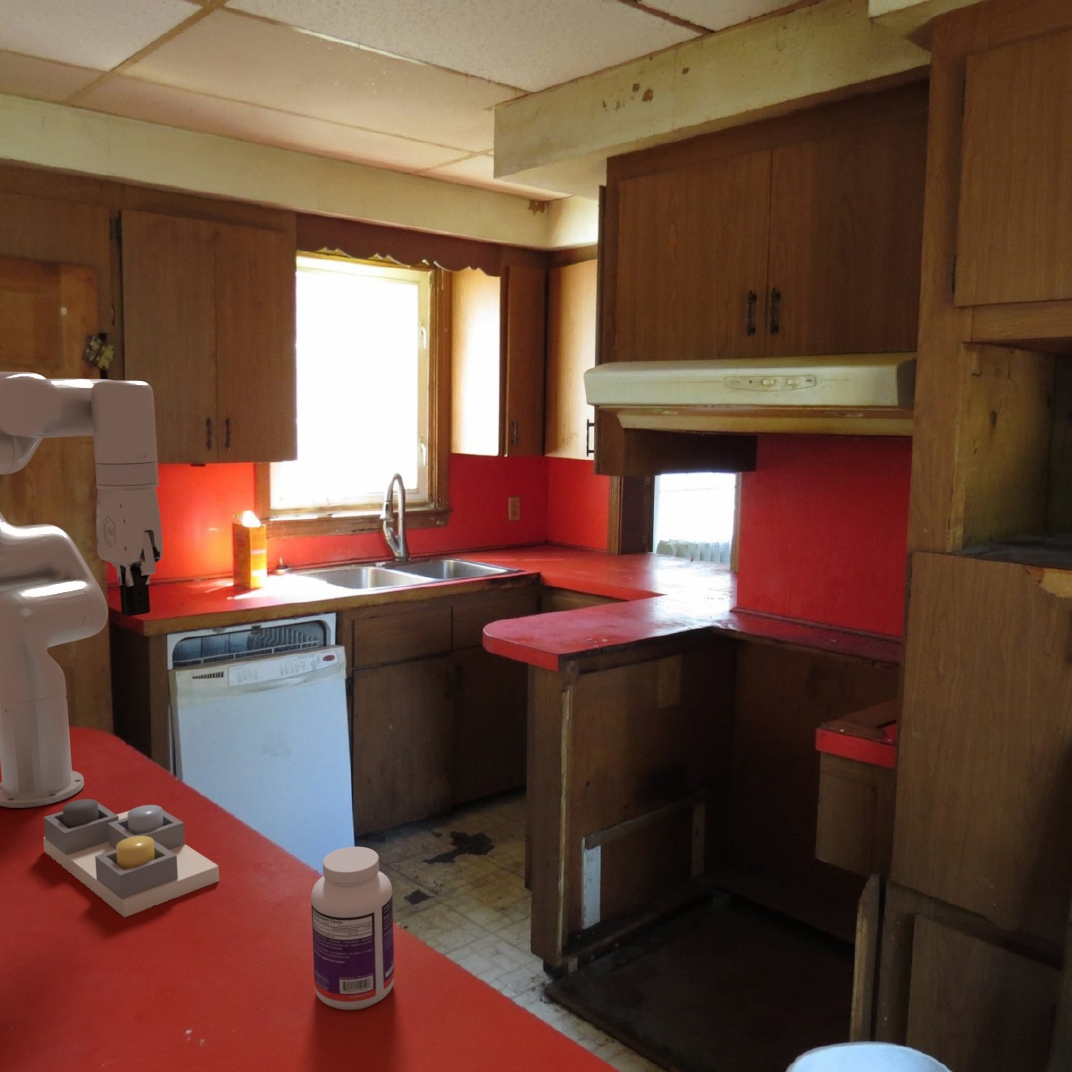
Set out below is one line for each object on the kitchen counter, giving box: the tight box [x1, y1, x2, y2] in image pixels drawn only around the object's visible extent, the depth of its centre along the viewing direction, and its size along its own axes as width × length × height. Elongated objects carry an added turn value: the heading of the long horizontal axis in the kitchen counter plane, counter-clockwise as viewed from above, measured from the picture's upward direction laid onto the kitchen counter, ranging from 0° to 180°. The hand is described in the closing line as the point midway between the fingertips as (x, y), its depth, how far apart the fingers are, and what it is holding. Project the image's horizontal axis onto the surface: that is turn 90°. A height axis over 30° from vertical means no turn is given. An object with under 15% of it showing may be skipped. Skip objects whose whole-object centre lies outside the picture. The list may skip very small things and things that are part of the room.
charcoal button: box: [62, 798, 99, 829], centre depth 132 cm, size 4×4×4 cm
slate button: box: [128, 804, 163, 835], centre depth 130 cm, size 4×4×4 cm
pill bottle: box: [310, 846, 395, 1011], centre depth 102 cm, size 8×8×14 cm
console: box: [42, 802, 220, 918], centre depth 129 cm, size 24×12×5 cm, turn 46°
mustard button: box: [116, 836, 155, 870], centre depth 121 cm, size 4×4×4 cm
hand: (135, 613), depth 134 cm, fingers closed
